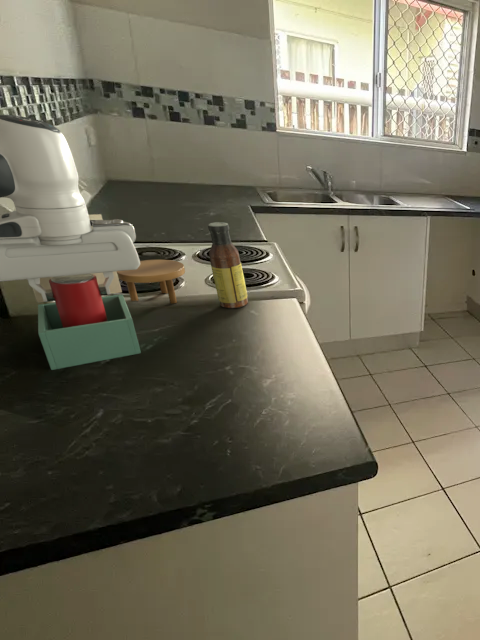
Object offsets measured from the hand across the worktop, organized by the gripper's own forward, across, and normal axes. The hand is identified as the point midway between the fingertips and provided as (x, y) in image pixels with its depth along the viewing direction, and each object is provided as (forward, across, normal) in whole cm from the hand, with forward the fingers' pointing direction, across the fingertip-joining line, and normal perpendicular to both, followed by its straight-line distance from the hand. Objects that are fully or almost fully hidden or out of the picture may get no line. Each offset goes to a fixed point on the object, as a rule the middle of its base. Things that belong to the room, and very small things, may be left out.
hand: (78, 297), depth 86 cm
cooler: (+11, 0, 0) cm, 11 cm away
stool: (+11, -14, -23) cm, 29 cm away
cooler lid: (-5, 0, -8) cm, 10 cm away
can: (+7, 0, 0) cm, 7 cm away
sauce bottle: (+10, -27, -12) cm, 32 cm away
